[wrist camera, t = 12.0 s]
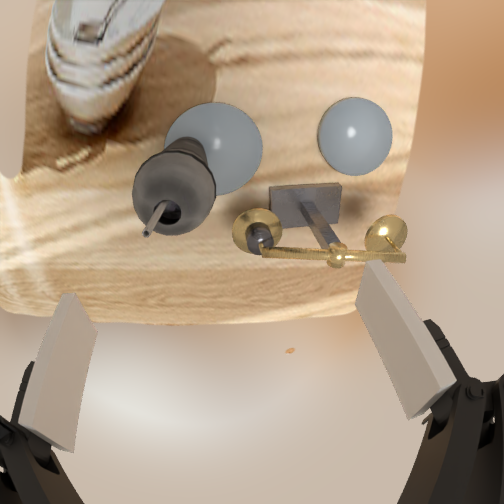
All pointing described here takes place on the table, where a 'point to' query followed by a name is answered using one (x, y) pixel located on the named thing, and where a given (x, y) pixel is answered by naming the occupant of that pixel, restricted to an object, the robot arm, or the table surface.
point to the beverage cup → (174, 189)
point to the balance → (315, 227)
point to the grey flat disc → (222, 142)
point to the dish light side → (355, 136)
